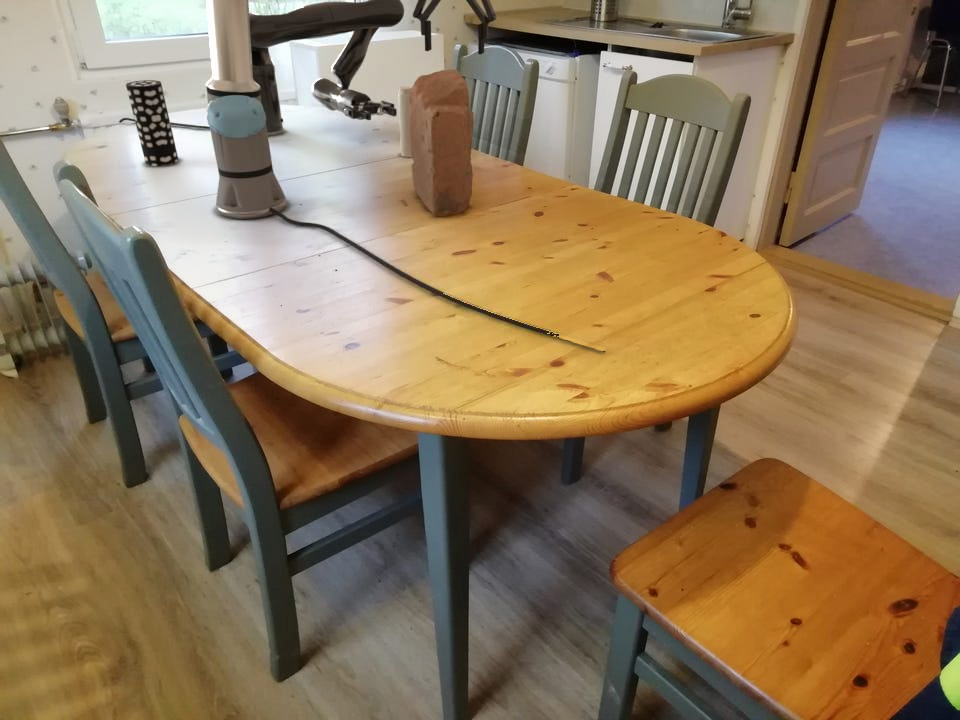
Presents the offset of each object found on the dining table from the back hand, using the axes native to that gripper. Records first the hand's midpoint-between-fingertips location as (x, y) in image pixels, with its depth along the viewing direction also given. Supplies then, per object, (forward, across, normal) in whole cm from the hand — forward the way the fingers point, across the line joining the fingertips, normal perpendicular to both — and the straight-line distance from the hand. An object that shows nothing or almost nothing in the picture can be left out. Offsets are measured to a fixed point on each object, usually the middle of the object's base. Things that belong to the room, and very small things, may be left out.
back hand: (382, 114), depth 198 cm
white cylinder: (+12, 0, +9) cm, 15 cm away
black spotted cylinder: (-22, -57, 0) cm, 61 cm away
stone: (+48, -14, +9) cm, 51 cm away
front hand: (+30, +3, -20) cm, 36 cm away
